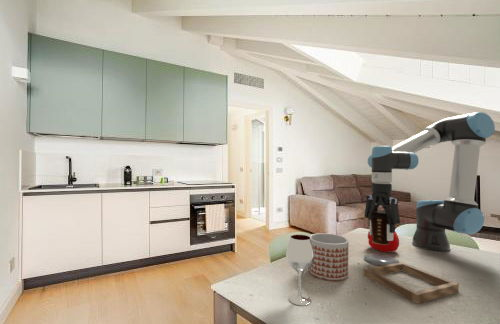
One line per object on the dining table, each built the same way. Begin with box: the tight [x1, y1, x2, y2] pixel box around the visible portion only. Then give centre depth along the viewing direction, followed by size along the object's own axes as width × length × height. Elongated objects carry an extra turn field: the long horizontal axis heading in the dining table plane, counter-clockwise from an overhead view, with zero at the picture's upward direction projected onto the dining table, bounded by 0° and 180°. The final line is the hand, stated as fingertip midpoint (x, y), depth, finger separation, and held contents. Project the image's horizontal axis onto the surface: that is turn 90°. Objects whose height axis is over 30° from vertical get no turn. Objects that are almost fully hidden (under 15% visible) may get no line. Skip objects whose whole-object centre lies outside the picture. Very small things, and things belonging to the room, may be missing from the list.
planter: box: [308, 232, 349, 282], centre depth 90 cm, size 14×14×13 cm
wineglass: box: [285, 234, 315, 307], centre depth 71 cm, size 8×8×18 cm
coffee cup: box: [370, 210, 389, 245], centre depth 102 cm, size 9×8×13 cm
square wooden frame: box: [363, 261, 460, 304], centre depth 82 cm, size 19×19×2 cm
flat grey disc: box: [363, 253, 400, 266], centre depth 102 cm, size 13×13×1 cm
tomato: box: [367, 230, 400, 253], centre depth 116 cm, size 13×13×13 cm
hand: (381, 237), depth 102 cm, fingers closed on coffee cup, 8 cm apart
